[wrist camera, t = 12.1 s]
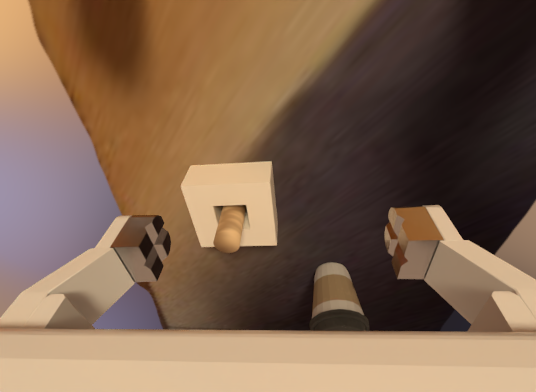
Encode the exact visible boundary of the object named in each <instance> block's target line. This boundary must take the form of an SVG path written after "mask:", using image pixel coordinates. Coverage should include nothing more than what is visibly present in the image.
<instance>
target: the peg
mask: <svg viewBox="0 0 536 392" xmlns="http://www.w3.org/2000/svg"><path fill="white" fill-rule="evenodd" d="M245 212H246V205H227V206H223V208H222V212H221V215H220V219H219V223H218V227H217V230H216V234H215V238H214V241H213V244H214V246H215V248H216V249H217V250H219V251H221V252H224V253H233V252H235V251H237V250H238V249H239V247H240V241H241V235H242V229H243V223H244V218H245Z"/></svg>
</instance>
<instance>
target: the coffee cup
mask: <svg viewBox="0 0 536 392" xmlns="http://www.w3.org/2000/svg"><path fill="white" fill-rule="evenodd" d="M309 327H310V331H369V320H368V319H367V318H366V317H365V316H364V314H363V311H362V309H361V306H360V303H359V300H358V298H357V295H356V292H355V289H354V286H353V284H352V281H351V278H350V275H349V273H348V271H347V269H346V268H345V266H343V265H342V264H339V263H333V262H331V263H325V264H322V265H321V266H319V267H318V268H317V269H316V273H315V277H314V294H313V310H312V319H311V320H310V324H309Z"/></svg>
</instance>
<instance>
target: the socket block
mask: <svg viewBox="0 0 536 392" xmlns="http://www.w3.org/2000/svg"><path fill="white" fill-rule="evenodd" d="M181 189H182V192H183V195H184V198H185V201H186V204H187V206H188V209H189V212H190V215H191V218H192V221H193V224H194V227H195V230H196V233H197V236H198V239H199V242H200V244H201V247H215V246H214V244H213V241H214V238H215V234H216V230H217V227H218V223H219V219H220V215H221V212H222V208H223V206H227V205H246V212H245V218H244V223H243V229H242V235H241V241H240V246H271V245H277V228H278V220H277V210H276V200H275V190H274V179H273V169H272V161H269V162H249V163H230V164H211V165H192V166H190V168H189V170H188V172H187V174H186V176H185V178H184V180H183V182H182V184H181Z"/></svg>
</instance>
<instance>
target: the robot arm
mask: <svg viewBox="0 0 536 392" xmlns="http://www.w3.org/2000/svg"><path fill="white" fill-rule="evenodd" d="M388 217H389V220H390V223H389V224H387V225H386V228H385V244H386V248H387V251H388V253H390V254H391V255H392V256H393V259H392V265H393V268H394V271H395V273H396V276H397V279H425V280H424V281H425V282H427V283H428V284H429V285H430V286H431V287H432V288H433V289H434V290H435V291H436V292H437V293H438V294H439V295H440V296H442V297H443V298H444V299H445V300H446V301H447V302H448V303H449V304H450V305H451V306H452V307H453V308H454V309H455V310H457V311H458V312H459V313H460V314H461V315H462V316H463V317H464V318H465V319H466V320H467V321H468V322H469V323H470V324H472V325H471V327H470V328H469V330H468V331H467V332H442V331H284V330H146V329H145V330H144V329H138V330H137V329H135V330H134V329H95V328H94V327H93V326H92V324H93V323H94V322H95V321H96V320H97V319H98V318H99V317H100V316H101V315H102V314H103V313H104V312H106V311H107V310H108V309H109V308H110V307H111V306H112V305H113V304H114V303H115V302H116V301H117V300H118V299H119V298H120V297H121V296H122V295H123V294H124V293H125V292H126V291H127V290H128V289H129V288H130V287H131V286H132V285H133V284H134V282H150V281H157V280H158V278H159V276H160V273H161V271H162V268H163V264H162V260H164V259H165V258H166V257H167V256H168V254H169V251H170V245H171V240H170V236H169V233H168V231H166V230H165V229H163V228H162V227H163V225H164V222H163V219H162V217H161V216H159V215H133V216H119V217H117V218H116V219H115V220H114V221H113V223H112V224H111V226H110V227H109V228H108V230H107V231H106V233H105V234H104V236H103V237H102V238H101V240H100V241H99V243H98V244H97V246H96V247H95V248H93V249H89V250H88V251H86V252H84V253H83V254H81V255H80V256H78V257H76V258H75V259H73V260H72V261H70V262H69V263H67V264H66V265H64V266H63V267H61V268H59V269H58V270H56V271H55V272H53V273H51V274H50V275H48V276H47V277H45V278H44V279H42V280H40V281H39V282H37V283H36V284H34V285H33V286H31V287H30V288H28V289H27V290H25V291H23V292H22V293H21V294H20V295H19V296H18V297H17V298H16V300H15V301H14V302H13V303H12V305H11V306H10V307H9V308H8V309H7V311H6V312H5V313H4V314H3V315H2V317H1V318H0V392H536V279H534V278H532V277H531V276H529V275H527V274H525V273H524V272H522V271H520V270H519V269H517V268H515V267H513V266H512V265H510V264H508V263H507V262H505V261H503V260H501V259H500V258H498V257H496V256H495V255H493V254H491V253H489V252H488V251H486V250H484V249H483V248H481V247H479V246H478V245H476V244H474V243H472V242H471V241H469V240H463V239H462V237H461V236H460V234H459V233H458V231H457V230H456V228H455V227H454V225H453V224H452V222H451V221H450V219H449V218H448V216H447V215H446V213H445V212H444V210H443V208H442V207H441V206H439V205H428V206H412V207H391V209H390V210H389V214H388Z"/></svg>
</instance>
